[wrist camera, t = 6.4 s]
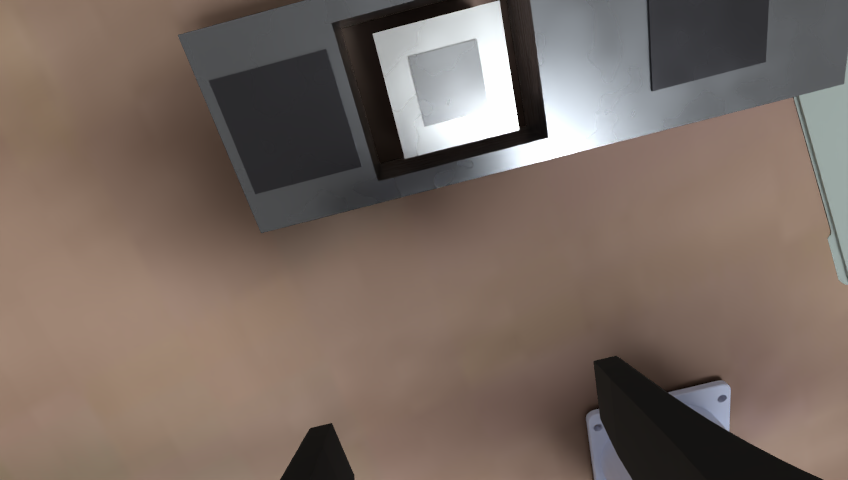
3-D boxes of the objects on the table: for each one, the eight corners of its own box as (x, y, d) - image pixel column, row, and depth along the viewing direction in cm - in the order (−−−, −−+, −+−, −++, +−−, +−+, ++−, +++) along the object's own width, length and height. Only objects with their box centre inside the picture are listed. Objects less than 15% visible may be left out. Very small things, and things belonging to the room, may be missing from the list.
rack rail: (778, 79, 19) (846, 84, 16) (279, 208, 20) (260, 234, 17) (790, -119, 16) (876, -157, 13) (212, 38, 17) (176, 34, 14)
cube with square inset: (494, 115, 19) (520, 130, 15) (402, 139, 19) (405, 159, 15) (476, 12, 17) (500, -1, 14) (377, 38, 17) (372, 33, 14)
